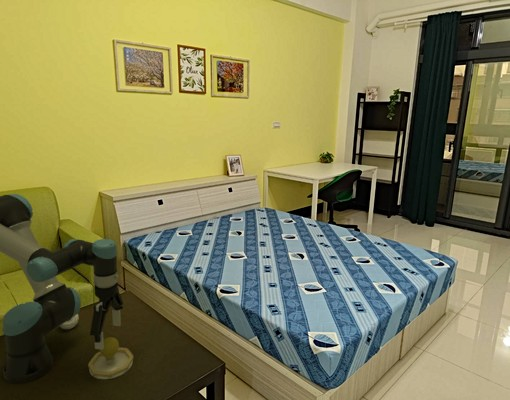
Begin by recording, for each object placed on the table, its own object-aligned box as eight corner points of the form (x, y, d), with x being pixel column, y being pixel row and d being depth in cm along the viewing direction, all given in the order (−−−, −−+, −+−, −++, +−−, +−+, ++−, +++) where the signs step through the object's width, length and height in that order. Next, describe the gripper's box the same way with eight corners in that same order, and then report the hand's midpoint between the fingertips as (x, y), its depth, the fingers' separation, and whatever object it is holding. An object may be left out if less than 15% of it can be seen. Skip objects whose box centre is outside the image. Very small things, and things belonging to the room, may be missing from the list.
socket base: (80, 377, 124) (80, 372, 124) (101, 349, 139) (101, 345, 138) (122, 381, 124) (122, 376, 123) (139, 352, 138) (138, 348, 138)
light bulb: (123, 358, 134) (122, 335, 131) (113, 370, 127) (111, 346, 125) (107, 355, 135) (106, 332, 133) (96, 367, 129) (94, 343, 126)
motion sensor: (58, 334, 147) (56, 318, 145) (58, 325, 153) (56, 309, 152) (79, 329, 151) (78, 313, 149) (78, 320, 157) (77, 304, 155)
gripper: (99, 303, 111) (102, 360, 116) (131, 268, 135) (132, 317, 141) (75, 301, 111) (79, 358, 117) (111, 266, 135) (113, 315, 141)
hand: (108, 336), depth 129 cm, fingers open, 13 cm apart
